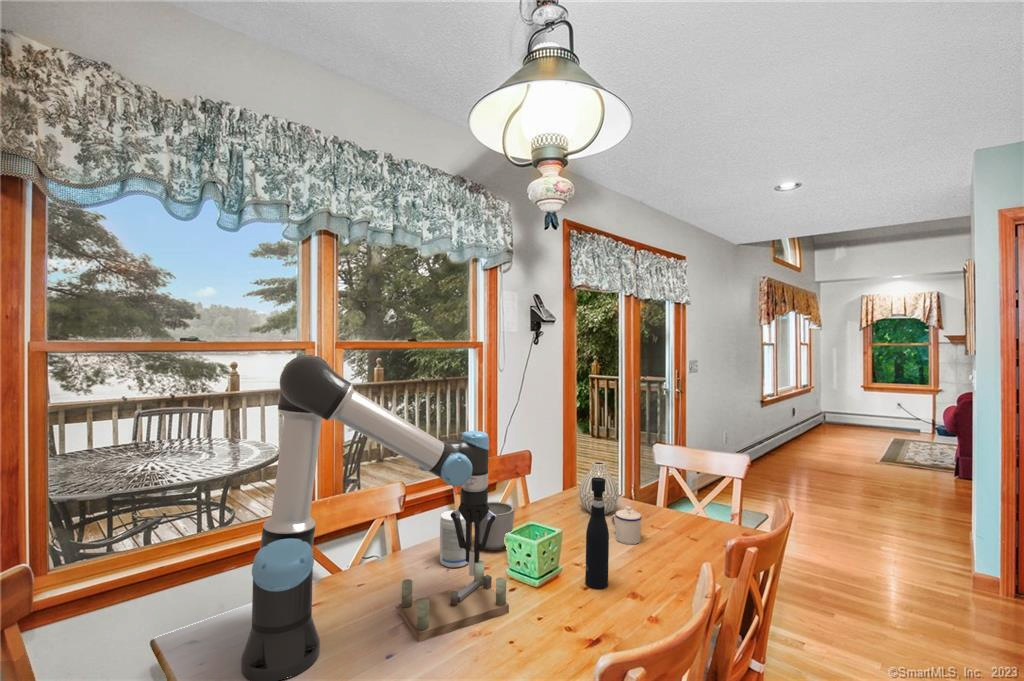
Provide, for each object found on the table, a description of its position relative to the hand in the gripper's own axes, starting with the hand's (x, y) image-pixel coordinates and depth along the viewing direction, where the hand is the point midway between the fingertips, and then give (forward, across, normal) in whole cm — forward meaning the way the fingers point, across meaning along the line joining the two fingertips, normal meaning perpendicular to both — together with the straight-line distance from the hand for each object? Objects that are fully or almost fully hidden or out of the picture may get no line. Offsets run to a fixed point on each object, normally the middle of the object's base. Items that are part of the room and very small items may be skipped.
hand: (472, 573), depth 134 cm
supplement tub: (+5, -9, +16) cm, 19 cm away
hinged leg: (+2, 0, -5) cm, 5 cm away
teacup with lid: (+4, +46, +44) cm, 64 cm away
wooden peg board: (+5, -2, -12) cm, 13 cm away
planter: (+5, +1, +30) cm, 30 cm away
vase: (+4, +38, +72) cm, 81 cm away
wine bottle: (+5, +34, +9) cm, 36 cm away
